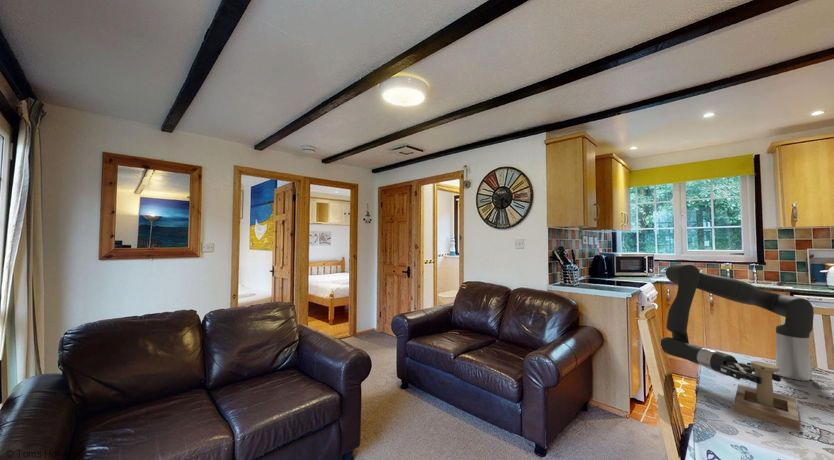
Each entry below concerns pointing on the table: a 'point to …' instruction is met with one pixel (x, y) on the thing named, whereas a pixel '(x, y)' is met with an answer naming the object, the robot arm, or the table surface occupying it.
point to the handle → (765, 382)
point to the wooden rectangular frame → (767, 408)
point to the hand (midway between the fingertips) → (771, 380)
